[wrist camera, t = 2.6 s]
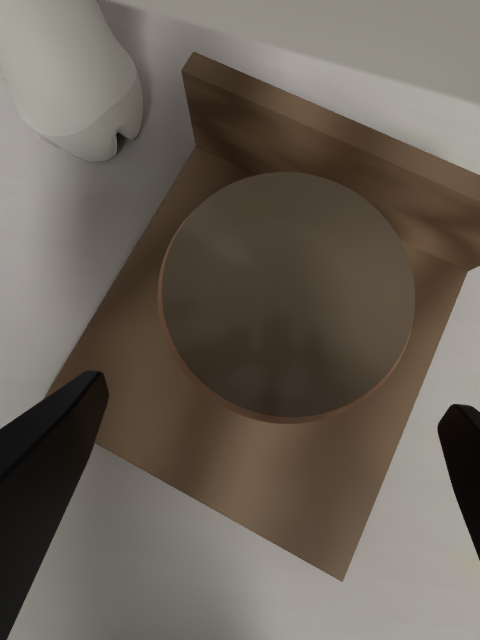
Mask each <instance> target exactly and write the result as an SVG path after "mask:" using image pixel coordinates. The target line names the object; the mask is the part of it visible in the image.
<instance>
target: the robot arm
mask: <svg viewBox="0 0 480 640" xmlns="http://www.w3.org/2000/svg"><path fill="white" fill-rule="evenodd" d="M108 400H109V391H108V387H107V383H106V379H105V376H104V374H103V372H101V371H91V370H87V371H84V372H83V373H81V374H80V375H78V376H77V377H75V378H74V379H73V380H71V381H70V382H68V383H67V384H65V385H64V386H62V387H61V388H59V389H58V390H57V391H55V392H54V393H52V394H51V395H49V396H48V397H46V398H45V399H43V400H42V401H41V402H39V403H38V404H36V405H35V406H33V407H32V408H30V409H29V410H27V411H26V412H25V413H23V414H22V415H20V416H19V417H17V418H16V419H14V420H13V421H11V422H10V423H9V424H7V425H6V426H4V427H3V428H1V429H0V640H7V638H8V636H9V634H10V631H11V629H12V627H13V625H14V623H15V620H16V618H17V616H18V614H19V612H20V609H21V607H22V605H23V603H24V601H25V598H26V596H27V594H28V592H29V590H30V587H31V585H32V583H33V581H34V579H35V576H36V574H37V572H38V570H39V568H40V565H41V563H42V561H43V559H44V557H45V554H46V552H47V550H48V548H49V546H50V543H51V541H52V539H53V537H54V535H55V532H56V530H57V528H58V526H59V524H60V521H61V519H62V517H63V515H64V513H65V510H66V508H67V506H68V504H69V502H70V499H71V497H72V495H73V493H74V491H75V488H76V486H77V484H78V482H79V480H80V477H81V475H82V473H83V471H84V469H85V466H86V464H87V462H88V459H89V457H90V454H91V452H92V449H93V446H94V443H95V440H96V437H97V434H98V431H99V428H100V425H101V422H102V419H103V416H104V413H105V410H106V407H107V404H108ZM438 435H439V439H440V443H441V446H442V450H443V454H444V458H445V461H446V465H447V469H448V472H449V476H450V480H451V483H452V487H453V490H454V493H455V496H456V499H457V502H458V504H459V507H460V510H461V512H462V515H463V518H464V520H465V523H466V525H467V528H468V531H469V533H470V536H471V539H472V541H473V544H474V547H475V549H476V552H477V555H478V557H479V560H480V412H479V411H478V410H476V409H475V408H474V407H472V406H469V405H461V404H453V405H451V406H450V407H449V409H448V410H447V411H446V413H445V414H444V416H443V417H442V419H441V420H440V422H439V424H438Z"/></svg>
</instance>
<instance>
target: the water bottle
mask: <svg viewBox="0 0 480 640" xmlns="http://www.w3.org/2000/svg"><path fill="white" fill-rule="evenodd" d="M0 71H1V73H2V75H3V77H4V80H5V82H6V84H7V86H8V89H9V91H10V94H11V97H12V100H13V103H14V105H15V107H16V109H17V111H18V113H19V114H20V116H21V117H22V119H23V120H24V121H25V122H26V124H27V125H28V126H29V127H30V128H31V129H32V130H33V131H34V132H35V133H36V134H37V135H38V136H39V137H40V138H41V139H43V140H44V141H45V142H47V143H49V144H51V145H53V146H55V147H56V148H59V149H61V150H64V151H66V152H68V153H69V154H71V155H73V156H76V157H78V158H81V159H84V160H87V161H91V162H101V161H106V160H109V159H111V158H112V157H113V156H115V155H116V152H117V139H116V134H117V132H119V133H120V134H121V135H123V136H124V137H126V138H128V139H131V140H134V138H136V136H137V135H138V134H139V131H140V127H141V123H142V116H143V96H142V89H141V84H140V79H139V76H138V73H137V70H136V67H135V64H134V62H133V60H132V58H131V57H130V55H129V54H128V53H127V52H126V51H125V50H124V49H123V47H122V46H121V45H120V44H119V42H118V41H117V40H116V38H115V37H114V35H113V33H112V31H111V30H110V28H109V26H108V24H107V22H106V20H105V18H104V16H103V13H102V11H101V9H100V6H99V4H98V2H97V0H0Z"/></svg>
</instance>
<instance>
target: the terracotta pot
mask: <svg viewBox="0 0 480 640" xmlns="http://www.w3.org/2000/svg"><path fill="white" fill-rule="evenodd" d="M157 299H158V313H159V318H160V323H161V327H162V331H163V334H164V337H165V340H166V342H167V345H168V347H169V349H170V351H171V353H172V355H173V357H174V359H175V361H176V362H177V364H178V365H179V366H180V368H181V369H182V371H183V372H184V374H185V375H186V376H187V377H188V378H189V379H190V380H191V381H192V383H193V384H194V385H195V386H196V387H197V388H198V389H199V390H201V391H202V392H203V393H204V394H205V395H207V396H208V397H209V398H210V399H212V400H213V401H215V402H216V403H218V404H220V405H221V406H223V407H225V408H226V409H228V410H231V411H233V412H235V413H237V414H239V415H242V416H244V417H248V418H251V419H255V420H258V421H263V422H269V423H276V424H302V423H310V422H316V421H320V420H323V419H327V418H331V417H333V416H336V415H338V414H341V413H343V412H345V411H348V410H349V409H351V408H353V407H354V406H356V405H358V404H359V403H361V402H363V401H364V400H365V399H366V398H368V397H369V396H370V395H371V394H373V393H374V392H375V391H376V390H377V389H378V388H379V387H380V386H381V385H382V384H383V383H384V382H385V381H386V380H387V379H388V377H389V376H390V374H391V373H392V372H393V370H394V369H395V367H396V366H397V364H398V362H399V361H400V359H401V357H402V355H403V353H404V351H405V348H406V345H407V343H408V340H409V337H410V334H411V329H412V324H413V318H414V311H415V287H414V278H413V273H412V269H411V264H410V262H409V259H408V256H407V253H406V251H405V248H404V246H403V244H402V243H401V241H400V239H399V237H398V235H397V233H396V232H395V231H394V229H393V228H392V226H391V225H390V223H389V222H388V221H387V220H386V219H385V217H384V216H383V215H382V214H381V213H380V212H379V211H378V210H377V209H376V208H375V207H374V206H373V205H372V204H370V203H369V202H368V201H367V200H366V199H364V198H363V197H361V196H360V195H359V194H357V193H356V192H354V191H353V190H351V189H349V188H347V187H345V186H343V185H341V184H339V183H336V182H334V181H331V180H329V179H326V178H323V177H319V176H315V175H311V174H304V173H296V172H275V173H265V174H260V175H256V176H251V177H248V178H245V179H242V180H239V181H237V182H234V183H232V184H230V185H228V186H226V187H224V188H222V189H220V190H219V191H217V192H216V193H214V194H213V195H211V196H210V197H208V198H207V199H206V200H205V201H204V202H202V203H201V204H200V205H199V206H198V207H197V208H196V209H195V210H194V211H193V212H192V213H191V214H190V215H189V216H188V217H187V218H186V219H185V221H184V222H183V223H182V224H181V226H180V227H179V229H178V230H177V232H176V233H175V235H174V236H173V238H172V240H171V242H170V244H169V246H168V248H167V250H166V253H165V256H164V259H163V262H162V265H161V270H160V275H159V280H158V295H157Z"/></svg>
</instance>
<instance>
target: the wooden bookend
mask: <svg viewBox="0 0 480 640" xmlns="http://www.w3.org/2000/svg"><path fill="white" fill-rule="evenodd" d="M181 71H182V76H183V81H184V87H185V92H186V97H187V102H188V107H189V112H190V118H191V123H192V128H193V133H194V138H195V144H196V147H195V149H194V150H193V152H192V154H191V155H190V157H189V159H188V160H187V162H186V164H185V165H184V167H183V169H182V170H181V172H180V174H179V175H178V177H177V179H176V180H175V182H174V184H173V185H172V187H171V189H170V190H169V192H168V194H167V195H166V197H165V198H164V200H163V202H162V203H161V205H160V207H159V208H158V210H157V212H156V213H155V215H154V217H153V218H152V220H151V222H150V223H149V225H148V227H147V228H146V230H145V232H144V233H143V235H142V237H141V238H140V240H139V242H138V243H137V245H136V247H135V248H134V250H133V252H132V253H131V255H130V257H129V258H128V260H127V262H126V263H125V265H124V266H123V268H122V270H121V271H120V273H119V275H118V276H117V278H116V280H115V281H114V283H113V285H112V286H111V288H110V290H109V291H108V293H107V295H106V296H105V298H104V300H103V301H102V303H101V305H100V306H99V308H98V310H97V311H96V313H95V315H94V316H93V318H92V320H91V321H90V323H89V325H88V326H87V328H86V330H85V331H84V333H83V335H82V336H81V338H80V339H79V341H78V343H77V344H76V346H75V348H74V349H73V351H72V353H71V354H70V356H69V358H68V359H67V361H66V363H65V364H64V366H63V368H62V369H61V371H60V373H59V374H58V376H57V378H56V379H55V381H54V383H53V384H52V386H51V388H50V389H49V391H48V393H47V394H46V396H45V398H46V397H48V396H49V395H51V394H52V393H54V392H55V391H57V390H58V389H59V388H61V387H62V386H64V385H65V384H67V383H68V382H70V381H71V380H73V379H74V378H75V377H77V376H78V375H80V374H81V373H83V372H84V371H87V370H91V371H101V372H103V374H104V376H105V379H106V383H107V387H108V391H109V400H108V404H107V407H106V410H105V413H104V416H103V419H102V422H101V425H100V428H99V431H98V434H97V437H96V440H95V443H96V444H98V445H100V446H101V447H103V448H105V449H107V450H109V451H110V452H112V453H114V454H116V455H117V456H119V457H121V458H123V459H125V460H126V461H128V462H130V463H132V464H133V465H135V466H137V467H139V468H141V469H142V470H144V471H146V472H148V473H150V474H151V475H153V476H155V477H157V478H158V479H160V480H162V481H164V482H166V483H167V484H169V485H171V486H173V487H174V488H176V489H178V490H180V491H182V492H183V493H185V494H187V495H189V496H190V497H192V498H194V499H196V500H198V501H199V502H201V503H203V504H205V505H206V506H208V507H210V508H212V509H214V510H215V511H217V512H219V513H221V514H222V515H224V516H226V517H228V518H230V519H231V520H233V521H235V522H237V523H238V524H240V525H242V526H244V527H246V528H247V529H249V530H251V531H253V532H255V533H256V534H258V535H260V536H262V537H263V538H265V539H267V540H269V541H271V542H272V543H274V544H276V545H278V546H279V547H281V548H283V549H285V550H287V551H288V552H290V553H292V554H294V555H295V556H297V557H299V558H301V559H303V560H304V561H306V562H308V563H310V564H311V565H313V566H315V567H317V568H319V569H320V570H322V571H324V572H326V573H327V574H329V575H331V576H333V577H335V578H336V579H338V580H340V581H342V582H343V579H344V577H345V574H346V572H347V570H348V567H349V565H350V562H351V560H352V557H353V555H354V552H355V550H356V547H357V545H358V542H359V540H360V537H361V535H362V532H363V530H364V527H365V525H366V522H367V520H368V517H369V515H370V512H371V510H372V507H373V505H374V503H375V500H376V498H377V495H378V493H379V490H380V488H381V485H382V483H383V480H384V478H385V475H386V473H387V470H388V468H389V465H390V463H391V460H392V458H393V455H394V453H395V450H396V448H397V445H398V443H399V441H400V438H401V436H402V433H403V431H404V428H405V426H406V423H407V421H408V418H409V416H410V413H411V411H412V408H413V406H414V403H415V401H416V398H417V396H418V393H419V391H420V388H421V386H422V383H423V381H424V379H425V376H426V374H427V371H428V369H429V366H430V364H431V361H432V359H433V356H434V354H435V351H436V349H437V346H438V344H439V341H440V339H441V336H442V334H443V331H444V329H445V326H446V324H447V321H448V319H449V316H450V314H451V312H452V309H453V307H454V304H455V302H456V299H457V297H458V294H459V292H460V289H461V287H462V284H463V282H464V279H465V277H466V274H467V272H468V271H469V270H471V269H474V268H476V267H478V266H480V175H478V174H475V173H473V172H471V171H468V170H466V169H464V168H462V167H459V166H457V165H455V164H452V163H450V162H448V161H445V160H443V159H441V158H438V157H436V156H434V155H432V154H429V153H427V152H425V151H422V150H420V149H418V148H415V147H413V146H411V145H408V144H406V143H404V142H401V141H399V140H397V139H395V138H392V137H390V136H388V135H385V134H383V133H381V132H378V131H376V130H374V129H371V128H369V127H367V126H365V125H362V124H360V123H358V122H355V121H353V120H351V119H348V118H346V117H344V116H341V115H339V114H337V113H334V112H332V111H330V110H328V109H325V108H323V107H321V106H318V105H316V104H314V103H311V102H309V101H307V100H304V99H302V98H300V97H298V96H295V95H293V94H291V93H288V92H286V91H284V90H281V89H279V88H277V87H274V86H272V85H270V84H267V83H265V82H263V81H261V80H258V79H256V78H254V77H251V76H249V75H247V74H244V73H242V72H240V71H237V70H235V69H233V68H231V67H228V66H226V65H224V64H221V63H219V62H217V61H214V60H212V59H210V58H207V57H205V56H203V55H200V54H198V53H196V52H193V53H192V55H191V56H190V58H189V59H188V61H187V62H186V64H185V66H184V67H183V69H182V70H181ZM275 172H296V173H304V174H311V175H315V176H319V177H323V178H326V179H329V180H331V181H334V182H336V183H339V184H341V185H343V186H345V187H347V188H349V189H351V190H353V191H354V192H356V193H357V194H359V195H360V196H361V197H363V198H364V199H366V200H367V201H368V202H369V203H370V204H372V205H373V206H374V207H375V208H376V209H377V210H378V211H379V212H380V213H381V214H382V215H383V216H384V217H385V219H386V220H387V221H388V222H389V223H390V225H391V226H392V228H393V229H394V231H395V232H396V233H397V235H398V237H399V239H400V241H401V243H402V244H403V246H404V248H405V251H406V253H407V256H408V259H409V262H410V264H411V269H412V273H413V278H414V287H415V311H414V318H413V324H412V329H411V334H410V337H409V340H408V343H407V345H406V348H405V351H404V353H403V355H402V357H401V359H400V361H399V362H398V364H397V366H396V367H395V369H394V370H393V372H392V373H391V374H390V376H389V377H388V379H387V380H386V381H385V382H384V383H383V384H382V385H381V386H380V387H379V388H378V389H377V390H376V391H375V392H374V393H373V394H371V395H370V396H369V397H368V398H366V399H365V400H364V401H363V402H361V403H359V404H358V405H356V406H354V407H353V408H351V409H349V410H348V411H345V412H343V413H341V414H338V415H336V416H333V417H331V418H327V419H323V420H320V421H316V422H310V423H302V424H276V423H269V422H263V421H258V420H255V419H251V418H248V417H244V416H242V415H239V414H237V413H235V412H233V411H231V410H228V409H226V408H225V407H223V406H221V405H220V404H218V403H216V402H215V401H213V400H212V399H210V398H209V397H208V396H207V395H205V394H204V393H203V392H202V391H201V390H199V389H198V388H197V387H196V386H195V385H194V384H193V383H192V381H191V380H190V379H189V378H188V377H187V376H186V375H185V374H184V372H183V371H182V369H181V368H180V366H179V365H178V364H177V362H176V361H175V359H174V357H173V355H172V353H171V351H170V349H169V347H168V345H167V342H166V340H165V337H164V334H163V331H162V327H161V323H160V318H159V313H158V299H157V295H158V280H159V275H160V270H161V265H162V262H163V259H164V256H165V253H166V250H167V248H168V246H169V244H170V242H171V240H172V238H173V236H174V235H175V233H176V232H177V230H178V229H179V227H180V226H181V224H182V223H183V222H184V221H185V219H186V218H187V217H188V216H189V215H190V214H191V213H192V212H193V211H194V210H195V209H196V208H197V207H198V206H199V205H200V204H201V203H202V202H204V201H205V200H206V199H207V198H208V197H210V196H211V195H213V194H214V193H216V192H217V191H219V190H220V189H222V188H224V187H226V186H228V185H230V184H232V183H234V182H237V181H239V180H242V179H245V178H248V177H251V176H256V175H260V174H265V173H275ZM45 398H44V399H45Z"/></svg>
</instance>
